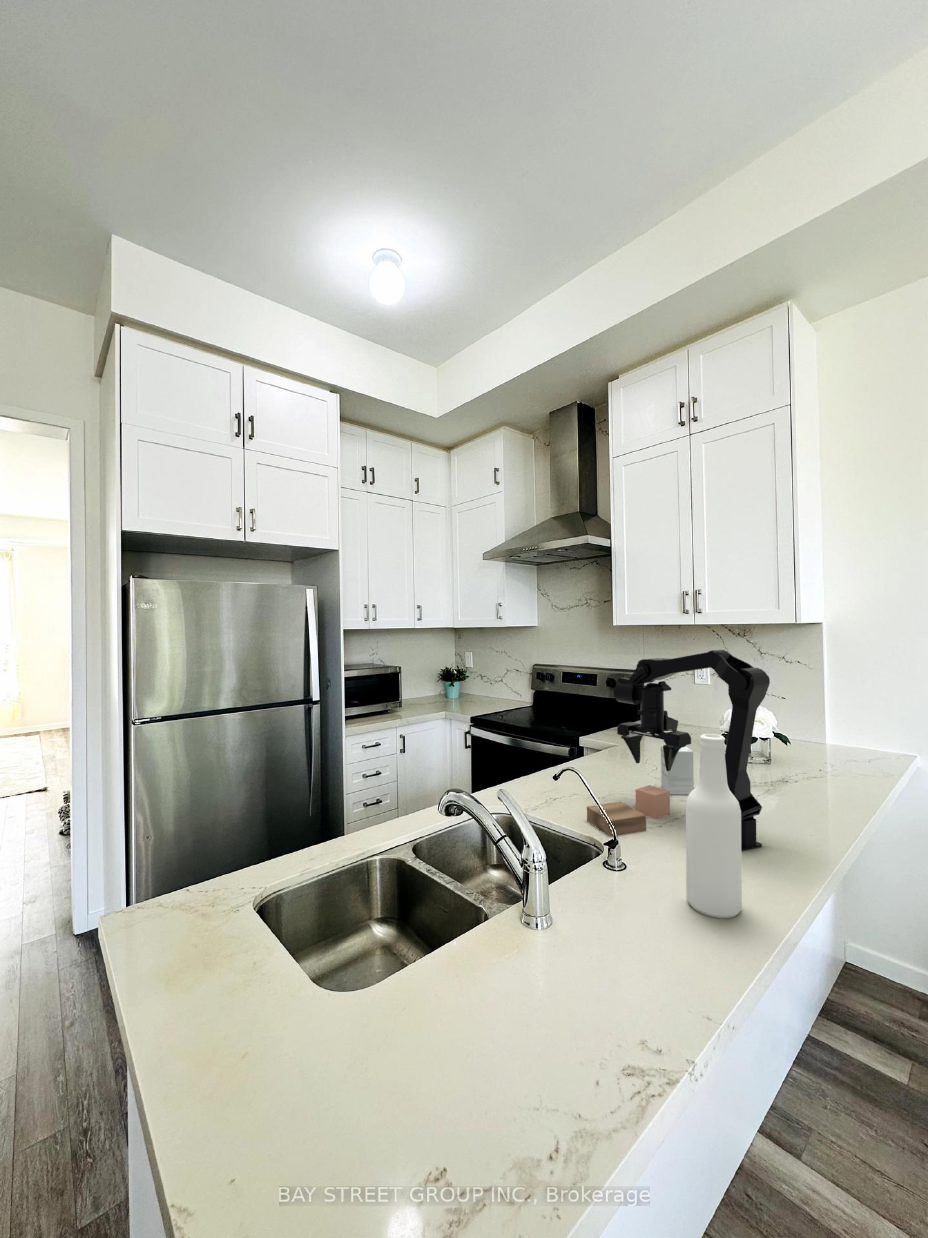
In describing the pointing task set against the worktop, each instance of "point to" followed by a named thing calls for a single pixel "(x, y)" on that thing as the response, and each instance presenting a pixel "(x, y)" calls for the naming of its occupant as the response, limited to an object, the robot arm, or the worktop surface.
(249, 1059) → the worktop surface
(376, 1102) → the worktop surface
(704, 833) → the alcohol
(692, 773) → the supplement box
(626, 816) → the walnut block
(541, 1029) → the worktop surface
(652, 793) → the terracotta cube
